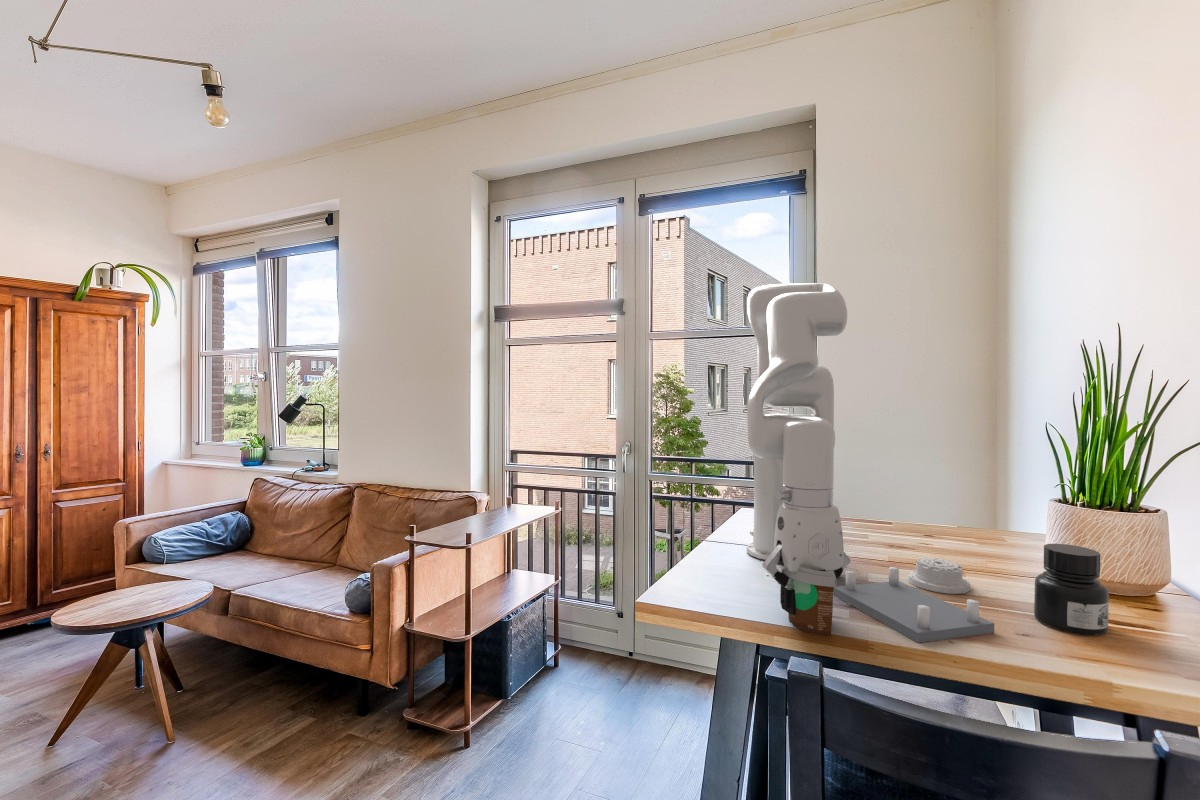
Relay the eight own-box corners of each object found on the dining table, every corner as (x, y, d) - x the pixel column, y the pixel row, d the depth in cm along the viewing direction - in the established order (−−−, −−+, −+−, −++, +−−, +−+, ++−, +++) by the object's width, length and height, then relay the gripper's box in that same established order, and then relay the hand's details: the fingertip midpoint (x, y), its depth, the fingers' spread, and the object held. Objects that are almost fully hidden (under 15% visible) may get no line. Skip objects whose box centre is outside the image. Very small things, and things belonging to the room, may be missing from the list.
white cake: (919, 593, 100) (980, 597, 98) (919, 569, 100) (980, 573, 98) (901, 575, 110) (955, 578, 108) (901, 553, 110) (956, 556, 108)
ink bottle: (1086, 642, 80) (1088, 561, 80) (1020, 619, 89) (1021, 545, 88) (1121, 630, 84) (1123, 553, 84) (1055, 609, 92) (1056, 539, 92)
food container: (773, 606, 94) (773, 548, 94) (809, 607, 93) (810, 549, 93) (792, 638, 81) (792, 572, 81) (834, 640, 81) (835, 573, 81)
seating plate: (833, 595, 99) (833, 570, 98) (898, 588, 102) (898, 564, 102) (918, 643, 80) (918, 612, 80) (994, 632, 83) (994, 603, 83)
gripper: (772, 504, 81) (771, 625, 82) (870, 499, 86) (869, 613, 86) (747, 495, 89) (746, 605, 89) (838, 490, 93) (837, 596, 93)
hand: (806, 608), depth 87 cm, fingers closed on food container, 5 cm apart
